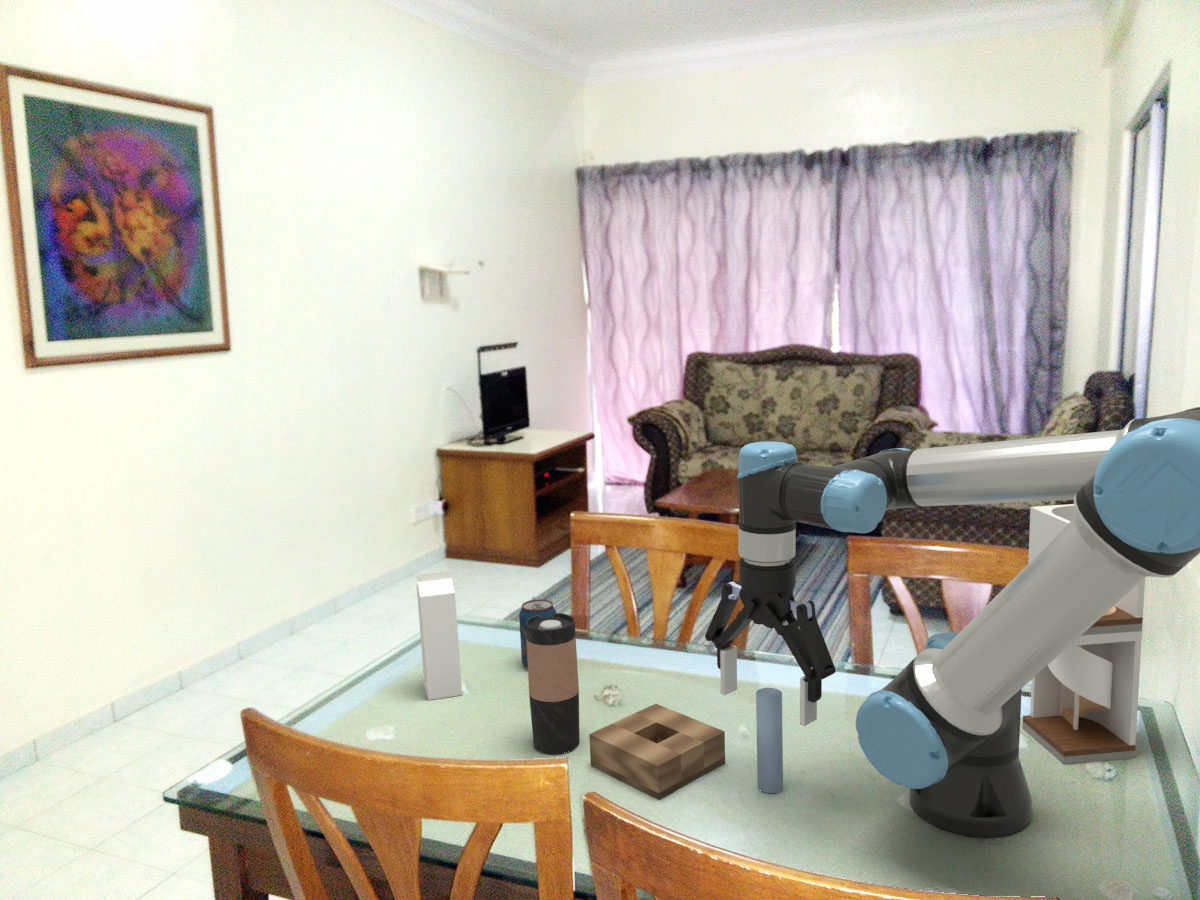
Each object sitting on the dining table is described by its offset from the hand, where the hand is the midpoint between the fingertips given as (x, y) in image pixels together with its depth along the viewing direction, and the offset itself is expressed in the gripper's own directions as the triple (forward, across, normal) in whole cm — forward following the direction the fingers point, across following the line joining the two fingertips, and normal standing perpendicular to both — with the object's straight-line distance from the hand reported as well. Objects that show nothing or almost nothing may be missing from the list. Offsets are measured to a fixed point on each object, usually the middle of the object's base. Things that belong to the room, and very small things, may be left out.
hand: (767, 706), depth 134 cm
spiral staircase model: (+12, -26, -41) cm, 50 cm away
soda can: (+13, +58, -6) cm, 59 cm away
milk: (+13, +62, +13) cm, 64 cm away
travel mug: (+12, +32, +12) cm, 36 cm away
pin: (+12, 0, 0) cm, 12 cm away
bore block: (+12, +16, +6) cm, 21 cm away
